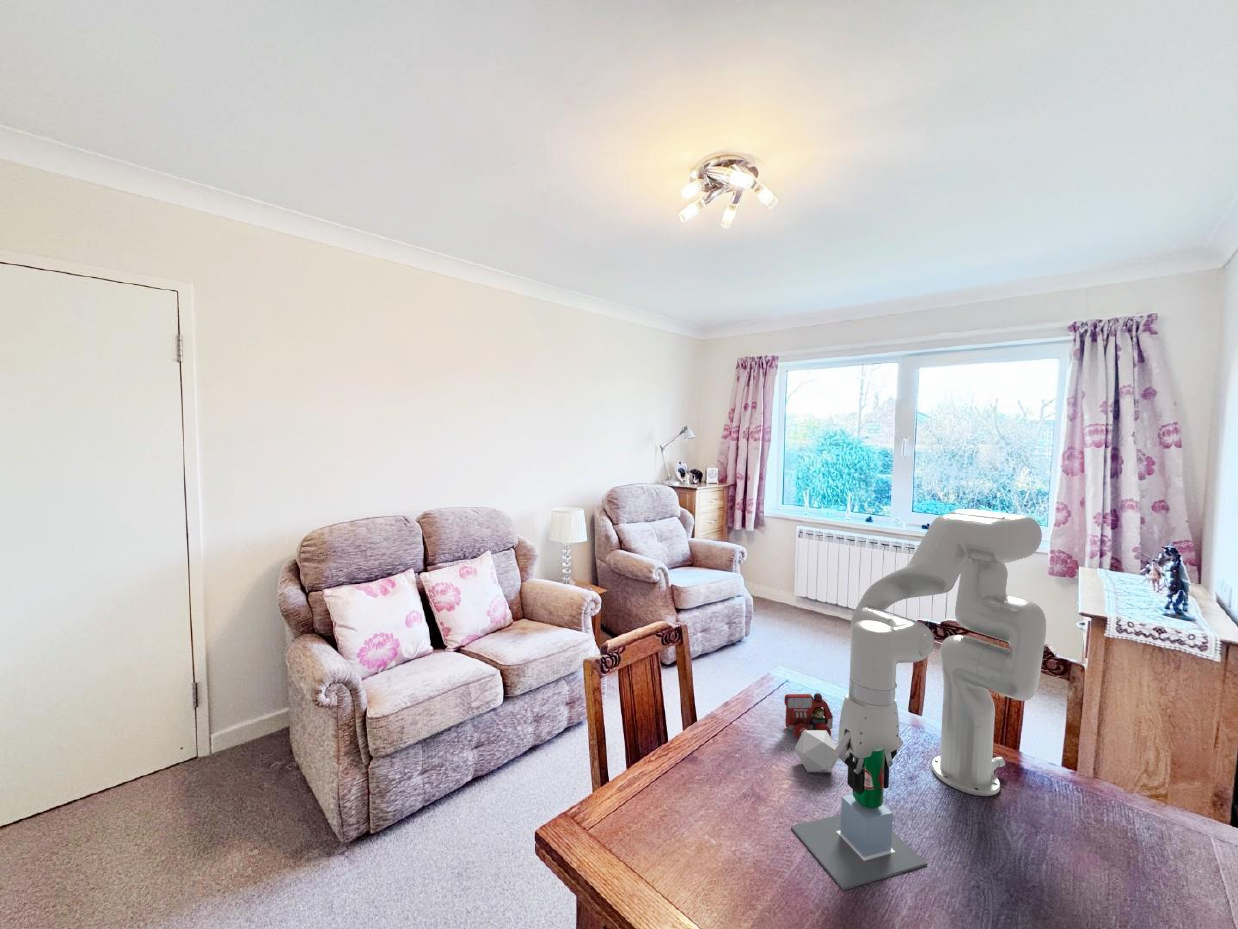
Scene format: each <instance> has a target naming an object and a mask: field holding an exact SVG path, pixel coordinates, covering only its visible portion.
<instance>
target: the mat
mask: <svg viewBox="0 0 1238 929" xmlns="http://www.w3.org/2000/svg"><path fill="white" fill-rule="evenodd" d="M790 829H791V830H792V832H794V834H795V835H796V836H797V837H798V839H799V840H800V841H801V842H802V843H803V845H805V847H806V848H807V849H808V850H809V852H810V853H811V854H812V855H813V856H814V858H816V860H817V861H818V862H819V864H820V865H821V866H822V867H823V868H824V869H825V870H826V872H827V873H828V874H829V875H830V877H832V879H833V880H834V881H835V882H836V884H838V886H839V887H840V889H841V890H843V891H845V890H849V889H853V888H856V887H858V886H862V885H866V884H869V883H872V882H876V881H879V880H882V879H885V878H889V877H893V876H895V875H898V874H902V873H905V872H910V871H912V870H915V869H918V868H919V869H920V868H922V867H925V866H927V865H928V862H927V861H926V860H924V858H922V857H921V856H920V855H919V854H918V853H917V852H916V851H915V850H914V849H912V848H911V847H910V846H909V845H908V844H907V843H906V842H905V841H904V840H903V839H902V838H900V837H899V835H897V834H896V833H895V832H894V831H893V830H892V840H891V850H889V851H885V852H882V853H878V854H874V855H871V856H867V857H863V855H862V854H861V853H860V852H859V851H858V850H857V849H856V848H855V847H854V846H853V845H852V844H851V843H850V842H849V841H848V840H847V839H846V838H845V837H844V836H843V835H842V833H841V832H840V830H841V813H840V814H836V815H832V816H828V817H824V818H820V819H816V820H811V821H808V822H803V823H801V824H796V825H792V826H790Z"/></svg>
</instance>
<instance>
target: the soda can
mask: <svg viewBox="0 0 1238 929" xmlns="http://www.w3.org/2000/svg"><path fill="white" fill-rule="evenodd" d="M856 759H857V758H856V757H854V758H853V761H854V762H856ZM884 766H885V749H884V748H882V747H880V748H877V749H875V750H874V751H873V752H872V754H871V756H870V757H865V758H864V762H863V765H862V769H861V772H862V773H863V775H864V777H863V793H862V794H861V795H859V794H857V793H856V792H855V791H854V790H853V789H852V794H853V797H854V798H855V800H856V801H857V802H858V803H859V804H861V805H862V806H864V807H867V808H871V809H876V808H879V807H880V806H881V805H882V804H883V805H884V789H885V788H884Z"/></svg>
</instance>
